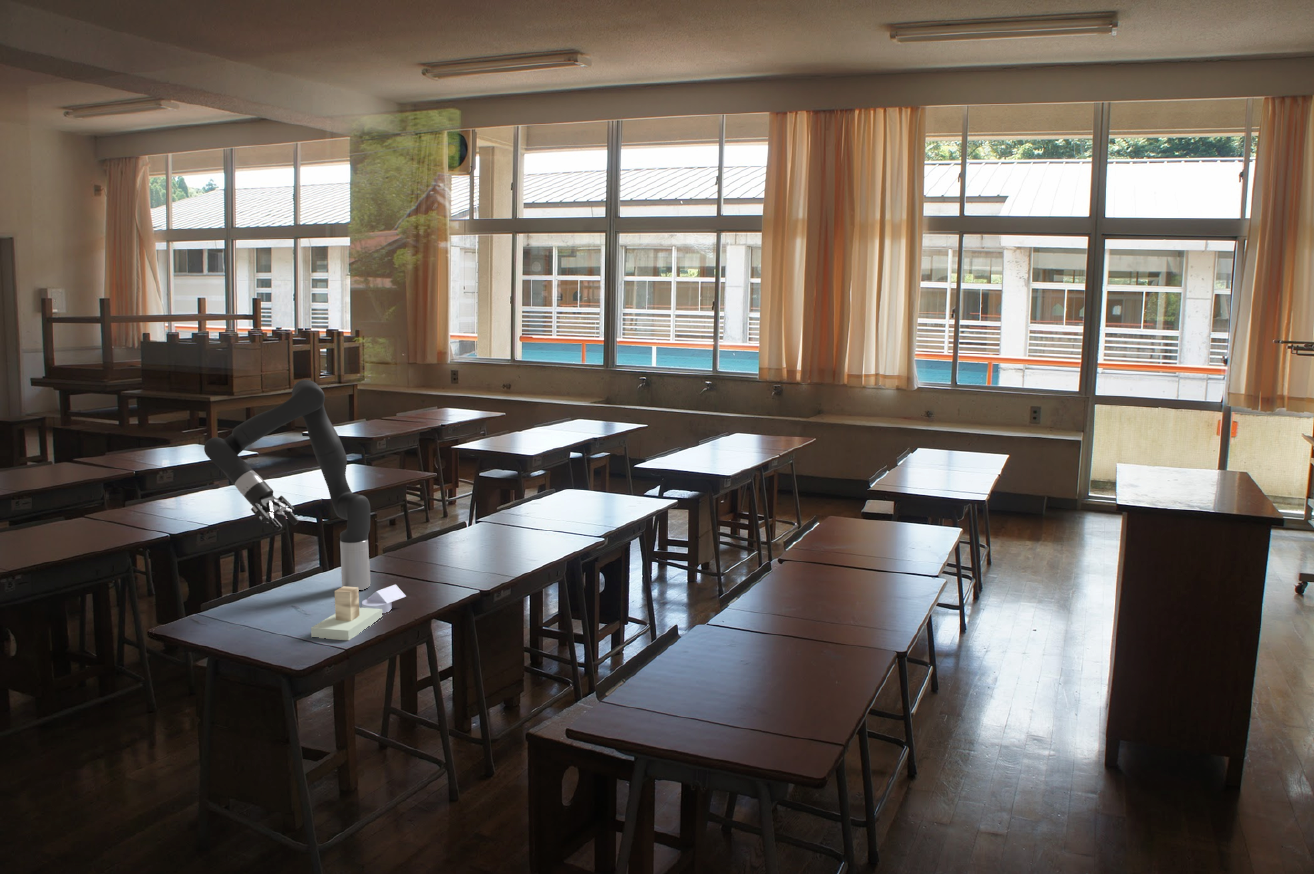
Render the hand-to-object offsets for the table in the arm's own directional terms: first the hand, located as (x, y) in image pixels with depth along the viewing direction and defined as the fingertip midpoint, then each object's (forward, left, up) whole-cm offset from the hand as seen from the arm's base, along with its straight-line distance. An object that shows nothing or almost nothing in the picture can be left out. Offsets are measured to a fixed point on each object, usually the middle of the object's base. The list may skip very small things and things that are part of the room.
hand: (288, 526), depth 282 cm
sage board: (+7, +23, -29) cm, 37 cm away
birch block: (+7, +23, -26) cm, 35 cm away
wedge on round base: (-11, +25, -29) cm, 40 cm away
